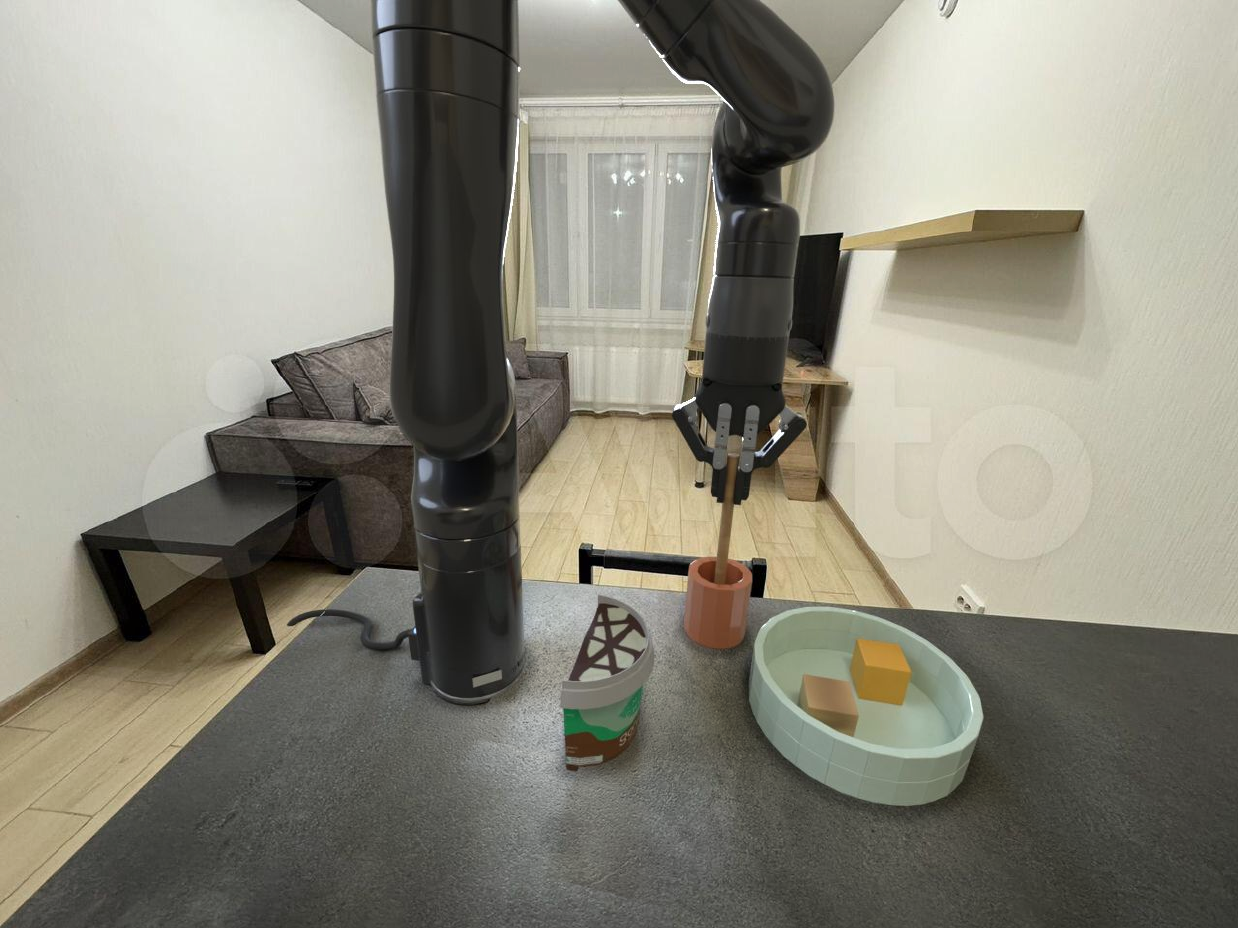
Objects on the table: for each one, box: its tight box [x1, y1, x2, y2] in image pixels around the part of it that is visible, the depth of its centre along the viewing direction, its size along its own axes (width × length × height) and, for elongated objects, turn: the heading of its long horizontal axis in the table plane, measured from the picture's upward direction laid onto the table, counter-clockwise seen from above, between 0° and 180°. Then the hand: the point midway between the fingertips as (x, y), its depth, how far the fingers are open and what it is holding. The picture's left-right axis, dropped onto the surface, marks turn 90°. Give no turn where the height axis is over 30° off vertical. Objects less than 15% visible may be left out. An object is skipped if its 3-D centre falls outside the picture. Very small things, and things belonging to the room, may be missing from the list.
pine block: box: [797, 674, 859, 738], centre depth 46 cm, size 4×4×4 cm
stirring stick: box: [714, 452, 740, 585], centre depth 56 cm, size 1×1×18 cm
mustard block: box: [850, 638, 912, 706], centre depth 51 cm, size 4×4×4 cm
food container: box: [559, 594, 656, 772], centre depth 45 cm, size 12×6×10 cm, turn 168°
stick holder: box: [683, 556, 753, 650], centre depth 58 cm, size 7×7×8 cm
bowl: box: [748, 606, 985, 807], centre depth 48 cm, size 19×19×6 cm
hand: (728, 500), depth 54 cm, fingers closed on stirring stick, 1 cm apart
